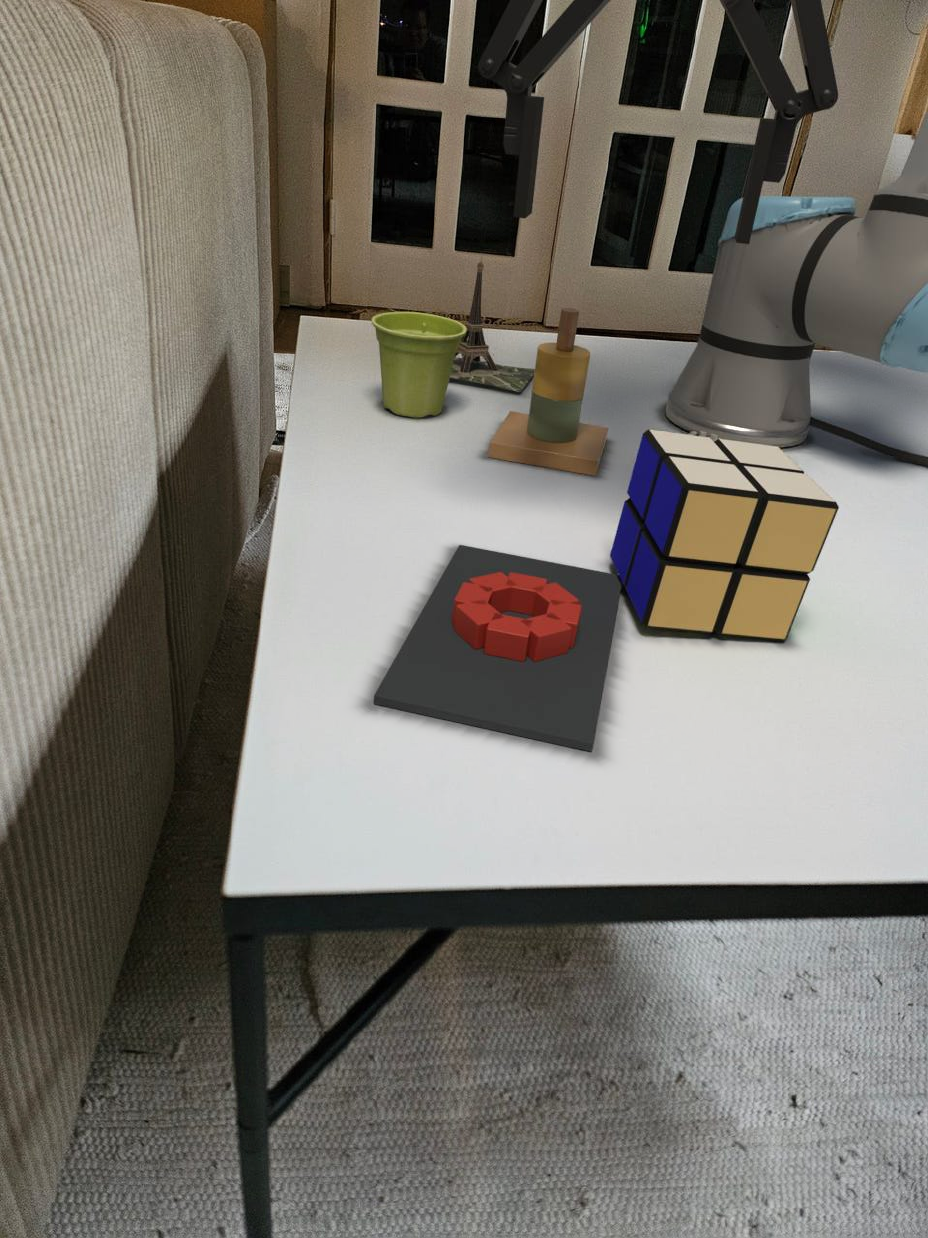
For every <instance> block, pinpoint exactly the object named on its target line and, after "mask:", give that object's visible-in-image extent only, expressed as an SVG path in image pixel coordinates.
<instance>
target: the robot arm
mask: <svg viewBox="0 0 928 1238" xmlns="http://www.w3.org/2000/svg"><path fill="white" fill-rule="evenodd" d="M611 1H612V0H572V2H571V3H570V4H569V5H568V6H567V8H566V9H565V10H564V11H563V12H562V13H561V14H560V15H559V17H558V18H557V19H556V20H555V21H554V22H553V23H552V25H551V26H550V27H549V28H548V29H547V30H546V32H545V33H544V34H543V35H542V36H541V38H540V39H539V40H538V41H537V42H536V43H535V44H534V46H533V47H532V48H531V49H530V51H529V52H527V54H526V55H525V56H524V57H523V59H522V60H521V61H520V62H519V63H518V64H517V65H516V64H514V63H512V62H511V61H512V60H513V57H514V55H515V53H516V51H517V49H518V48H519V46H520V44H521V42H522V40H523V38H524V36H525V34H526V33H527V31H528V29H529V27H530V25H531V23H532V21H533V19H534V18H535V15H536V14H537V12H538V10H539V8H540V6H541V4H542V2H543V0H509V1H508V4H507V6H506V8H505V9H504V12H503V13H502V15H501V17H500V20H499V21H498V23H497V24H496V27H495V29H494V31H493V33H492V35H491V37H490V39H489V41H488V43H487V45H486V47H485V49H484V51H483V53H482V55H481V57H480V59H479V61H478V64H477V66H478V67H477V69H478V72H479V74H480V75H481V77H482V78H485V79H487V80H489V81H491V82H493V83H495V84H497V85H499V86H500V87H501V88H502V89H503V90H504V91H505V95H506V108H505V119H504V131H503V143H502V146H503V149H504V150H503V151H504V154H505V155H511V156H519V157H518V164H517V165H518V166H517V175H516V186H515V197H514V207H513V218H516V219H517V218H518V219H527V218H528V217H529V216H530V215H531V214H533V206H534V198H535V197H534V196H535V189H536V188H535V187H536V179H537V168H538V161H539V150H540V141H541V131H542V122H543V112H544V103H545V96H537V95H532V92H533V89H534V87H535V86H536V85H537V84H538V83H539V82H540V81H541V80H542V78H544V76H545V75H546V74H547V73H548V71H549V70H550V69H551V68H552V67H553V66H554V65H555V63H556V62H558V60H560V58H561V57H562V56H563V54H564V53H566V51H567V50H568V49H569V48H570V47H571V46H572V44H573V43H574V42H575V41H576V40H577V39H578V38H579V37H580V35H581V34H582V33H583V32H584V31H585V30H586V29H587V27H588V26H589V25H590V24H591V23H592V22H593V20H595V18H596V17H597V16H598V15H599V14H600V13H601V12H602V10H603V9H604V8H605V7H606V6H607V5H608V4H609V3H610V2H611ZM719 2H720V3H721V6H722V8H723V9H724V11H725V14H726V15H727V17H728V20H729V21H730V23H731V25H732V27H733V29H734V32H735V33H736V36H737V37H738V40H739V41H740V43H741V44H742V47H743V49H744V51H745V53H746V55H747V57H748V59H749V61H750V63H751V65H752V67H753V69H754V71H755V73H756V75H757V77H758V79H759V81H760V83H761V86H762V87H763V89H764V91H765V93H766V95H767V97H768V99H769V101H770V103H771V105H772V107H773V109H774V116H773V118H765V117H760V118H759V123H758V127H757V133H756V137H755V141H754V147H753V151H752V155H751V159H750V165H749V169H748V174H747V178H746V183H745V187H744V192H743V195H742V196H743V197H741V198H739V199H737V200H736V201H735V202H734V203H733V204H732V205H731V207H730V208H729V210H728V213H727V217H726V219H725V222H724V226H723V229H722V233H721V236H720V238H719V239H718V241H717V242H718V243H717V246H718V250H717V254H716V259H715V263H714V268H713V273H712V276H711V281H710V286H709V290H708V296H707V300H706V305H705V309H704V314H703V318H702V321H701V322H702V324H701V329H700V332H699V337H698V340H697V344H696V346H695V347H694V350H693V352H692V354H691V355H690V357H689V359H688V360H687V362H686V364H685V365H684V368H683V369H682V371H681V372H680V375H679V376H678V378H677V380H676V382H675V383H674V384H673V385H674V386H673V387H672V389H671V391H670V392H669V394H668V397H667V402H666V407H665V415H666V417H667V419H669V420H670V421H671V422H672V423H673V424H674V425H676V426H677V427H679V428H682V429H684V430H685V431H688V432H689V433H690V432H693V431H695V432H697V434H696V435H697V436H699V434H700V431H702V432H706V437H709V438H710V436H711V434H715V435H717V436H718V437H717V438H721V439H725V440H732V441H740V442H747V443H754V444H762V445H769V446H777V447H779V448H787V447H793V446H796V445H799V444H801V443H804V442H805V441H806V439H807V437H808V434H809V430H810V427H812V428H815V429H817V430H820V431H824V432H825V433H828V434H831V435H835V436H837V437H839V438H842V439H845V440H848V441H851V442H852V443H855V444H857V445H860V446H862V447H865V448H867V449H870V450H872V451H874V452H877V453H879V454H882V455H885V456H889V457H891V458H895V459H898V460H902V461H905V462H910V463H913V464H917V465H922V466H926V467H928V456H927V455H922V454H918V453H914V452H910V451H906V450H903V449H899V448H896V447H893V446H889V445H887V444H884V443H882V442H879V441H876V440H875V439H871V438H869V437H867V436H864V435H863V434H859V433H857V432H855V431H853V430H849V429H847V428H844V427H841V426H839V425H836V424H833V423H829V422H827V421H824V420H821V419H819V418H817V417H814V416H812V403H811V399H812V398H811V374H810V366H811V365H810V364H811V360H812V356H813V352H814V349H815V345H819V346H823V347H826V348H830V349H833V350H836V351H840V352H843V353H846V354H850V355H854V356H856V357H861V358H864V359H867V360H871V361H874V362H877V363H881V364H882V366H886V367H889V368H892V369H893V368H894V369H895V368H901V369H905V370H910V371H913V372H918V373H923V374H924V373H925V374H928V108H926V111H925V114H924V115H923V119H922V121H921V123H920V125H919V129H918V131H917V134H916V136H915V139H914V141H913V144H912V146H911V148H910V150H909V154H908V156H907V159H906V161H905V164H904V166H903V169H902V170H901V174H900V175H899V176H898V177H897V179H895V180H894V181H892V182H891V183H889V184H887V185H885V186H884V187H882V188H879V189H878V190H876V191H875V193H874V195H873V197H872V199H871V202H870V205H869V208H868V211H867V212H866V214H865V217H860V216H855V215H856V212H857V209H856V200H855V199H854V198H853V197H847V196H786V195H785V196H781V195H780V196H779V195H778V196H777V195H776V196H774V195H773V196H772V195H771V196H770V195H769V196H767V195H766V196H765V195H761V194H762V190H763V185H764V182H768V183H776V184H777V183H778V184H780V182H781V181H782V179H783V178H784V176H785V175H786V171H787V167H788V162H789V159H790V154H791V149H792V145H793V142H794V137H795V133H796V129H797V126H798V124H799V122H801V120H802V119H803V118H804V117H806V116H808V115H811V114H816V113H818V112H822V111H826V110H830V109H832V108H833V107H834V106H835V105H836V103H837V102H838V99H839V90H838V83H837V79H836V73H835V69H834V62H833V58H832V52H831V47H830V40H829V36H828V30H827V26H826V25H827V24H826V19H825V15H824V9H823V4H822V3H823V2H822V0H790V4H791V9H792V14H793V15H792V16H793V20H794V24H795V25H794V26H795V30H796V34H797V39H798V46H799V49H800V50H799V51H800V54H801V60H802V65H803V70H804V74H805V79H806V86H807V89H803V90H799V91H797V90H796V88H795V86H794V84H793V82H792V79H791V78H790V75H789V74H788V72H787V70H786V68H785V66H784V64H783V61H782V59H781V58H780V55H779V53H778V51H777V49H776V48H775V45H774V43H773V41H772V39H771V37H770V35H769V33H768V31H767V29H766V27H765V25H764V23H763V21H762V19H761V17H760V14H759V12H758V10H757V8H756V6H755V5H754V2H753V0H719Z"/></svg>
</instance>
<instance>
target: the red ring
mask: <svg viewBox="0 0 928 1238" xmlns="http://www.w3.org/2000/svg"><path fill="white" fill-rule="evenodd" d="M581 609H582V605H579V599H577V598H576V597H575V596H573V595H572V594H570V593H569V592H568V591H566V590H565V589H564V588H562V587H561V586H560V585H558V584H557V583H551V584H547V579H544V578H539V577H534V576H528V575H523V574H518V573H513V572H510V574H509V576H508V577H507V576H506V575H504V574H503V573H502V572H498V573H494V574H489V575H484V576H479V577H475V578H470V579H469V583H466V582H463V584H462V586H461V588H460V590H459V592H458V594H457V596H456V598H455V600H454V609H453V619H452V624H453V625H454V631H456V632H457V633H458V634H459V635H460V636H461V637H462V638H463V639H464V640H465V641H466V642H467V643H468V644H470V645H471V646H472V647H473V648H474V649H475V650H476V649H480V648H484V654H488V655H492V656H497V657H502V658H507V659H512V660H517V661H521V662H525V660H526V656H528V657H529V658H531V659H532V660H533V661H534V662H537V661H540V660H544V659H548V658H551V657H555V656H558V655H562V654H566V653H568V648H571V649H572V648H573V646H574V642H575V638H576V634H577V630H578V625H579V619H580V614H581ZM506 611H513V612H518V613H523V614H528V615H532V616H533V617H532V618H528V619H522V618H517V617H512V616H507V615H502V614H500V613H502V612H506Z"/></svg>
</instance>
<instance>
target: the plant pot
mask: <svg viewBox="0 0 928 1238" xmlns="http://www.w3.org/2000/svg"><path fill="white" fill-rule="evenodd" d="M371 325H372V326H373V327H374V328H375V336H376V340H377V342H378V348H379V350H378V351H379V362H380V363H379V364H380V375H381V376H380V378H381V392H382V404H383V407H384V409H389V410H390V411H391V412H392V413H393V414H395V415H398V416H403V417H410V418H416V419H418V418H424V417H426V416H428V415H432V416H434V417H435V416H439V415H440V414H441V413H442V411H443V409H444V405H445V401H446V395H447V390H448V387H449V382H450V379H451V378H450V374H451V370H452V366H453V362H454V358H455V354H456V350H457V349H458V348H459V346H460V342H461V338H462V337H463V336H464V335H465V334H466V331H467V328H466V325H464V324H463V323H462V322H460V321H458V320H455V319H452V318H449V317H445V316H442V315H437V314H431V313H426V312H416V311H390V312H382V313H378V314H376V315H374V316H372V318H371Z"/></svg>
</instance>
